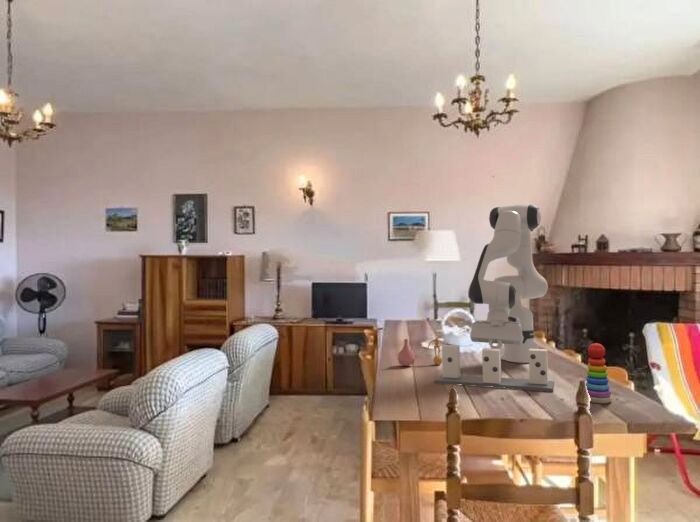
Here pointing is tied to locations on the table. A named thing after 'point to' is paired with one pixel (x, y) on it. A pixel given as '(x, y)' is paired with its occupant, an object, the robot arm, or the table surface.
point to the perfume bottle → (406, 355)
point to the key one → (451, 361)
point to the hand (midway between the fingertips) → (494, 351)
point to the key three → (538, 366)
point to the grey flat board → (505, 383)
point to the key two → (491, 365)
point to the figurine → (438, 359)
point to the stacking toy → (597, 375)
